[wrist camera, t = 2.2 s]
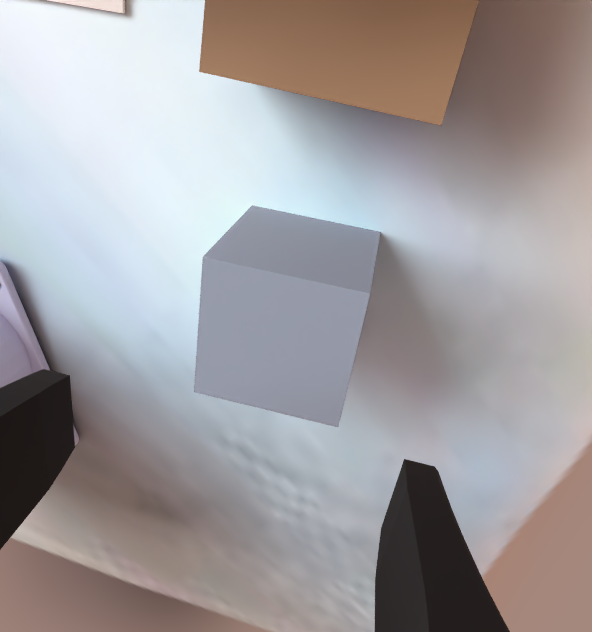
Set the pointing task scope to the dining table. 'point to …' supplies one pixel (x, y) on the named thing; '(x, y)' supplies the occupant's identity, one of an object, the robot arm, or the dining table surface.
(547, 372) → the dining table surface
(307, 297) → the slate brick
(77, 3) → the page
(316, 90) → the walnut brick
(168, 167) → the dining table surface
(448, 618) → the robot arm
